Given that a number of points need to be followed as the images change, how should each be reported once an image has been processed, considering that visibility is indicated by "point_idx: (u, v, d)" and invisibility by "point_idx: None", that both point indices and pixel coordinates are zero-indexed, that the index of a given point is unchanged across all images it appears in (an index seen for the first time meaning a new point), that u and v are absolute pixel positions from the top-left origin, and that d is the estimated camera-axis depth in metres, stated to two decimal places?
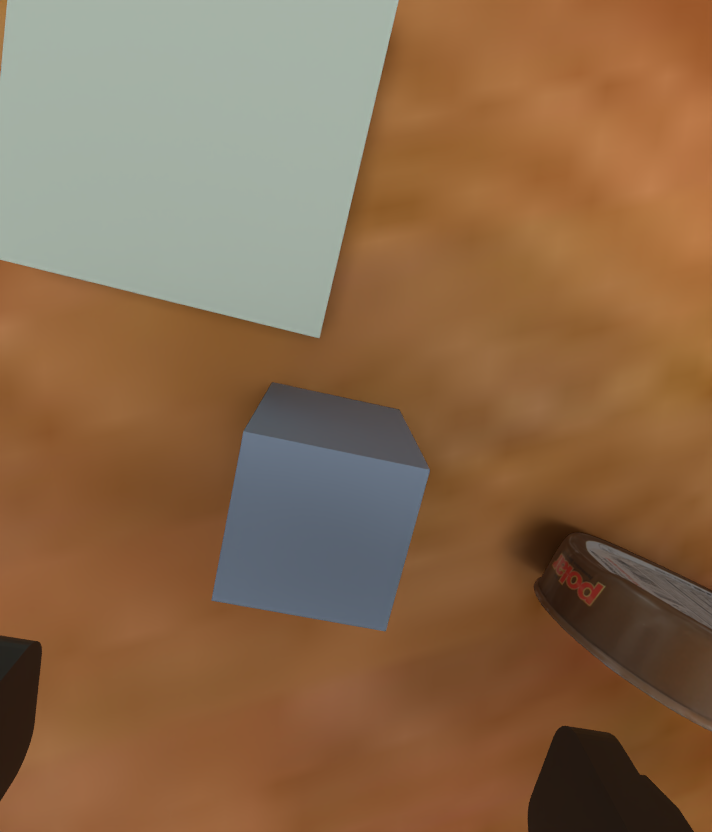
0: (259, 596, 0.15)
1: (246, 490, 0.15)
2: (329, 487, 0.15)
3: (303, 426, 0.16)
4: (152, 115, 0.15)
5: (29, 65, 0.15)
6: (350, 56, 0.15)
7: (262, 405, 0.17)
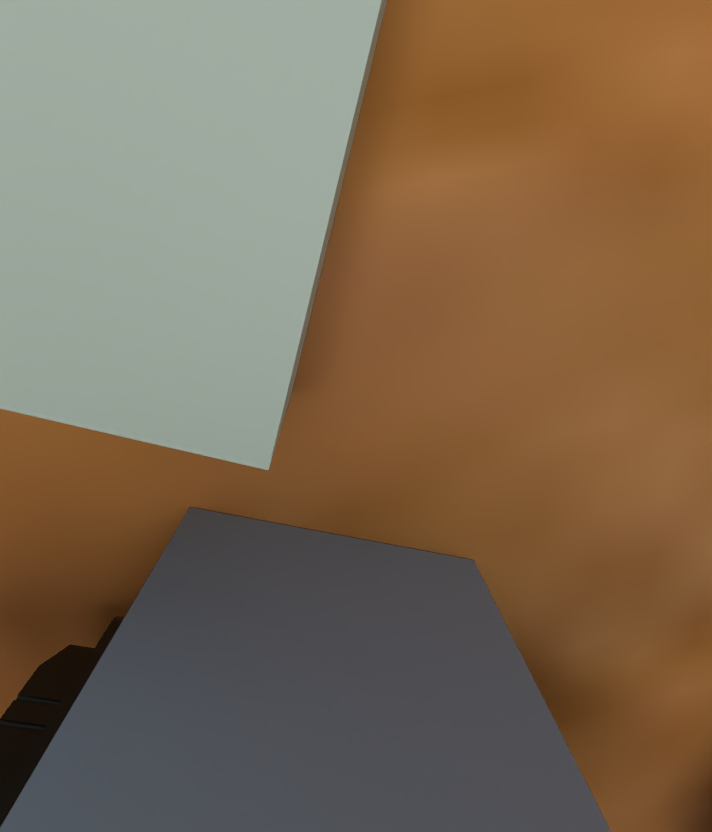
0: None
1: None
2: None
3: (215, 830, 0.04)
4: None
5: None
6: None
7: (105, 670, 0.05)
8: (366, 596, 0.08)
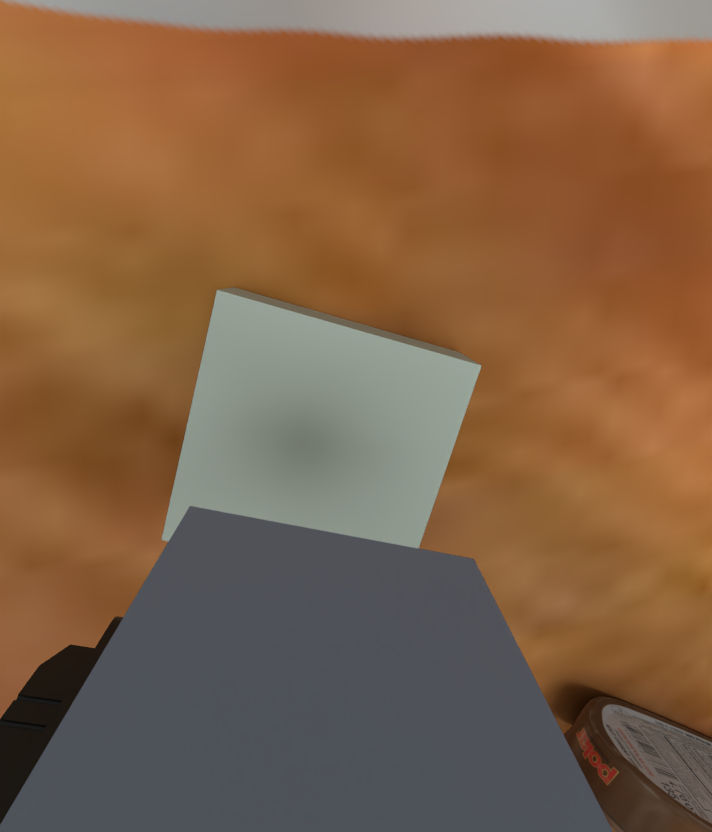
0: None
1: None
2: None
3: (216, 828, 0.04)
4: (293, 451, 0.21)
5: (208, 419, 0.21)
6: (439, 416, 0.21)
7: (105, 668, 0.05)
8: (366, 595, 0.08)
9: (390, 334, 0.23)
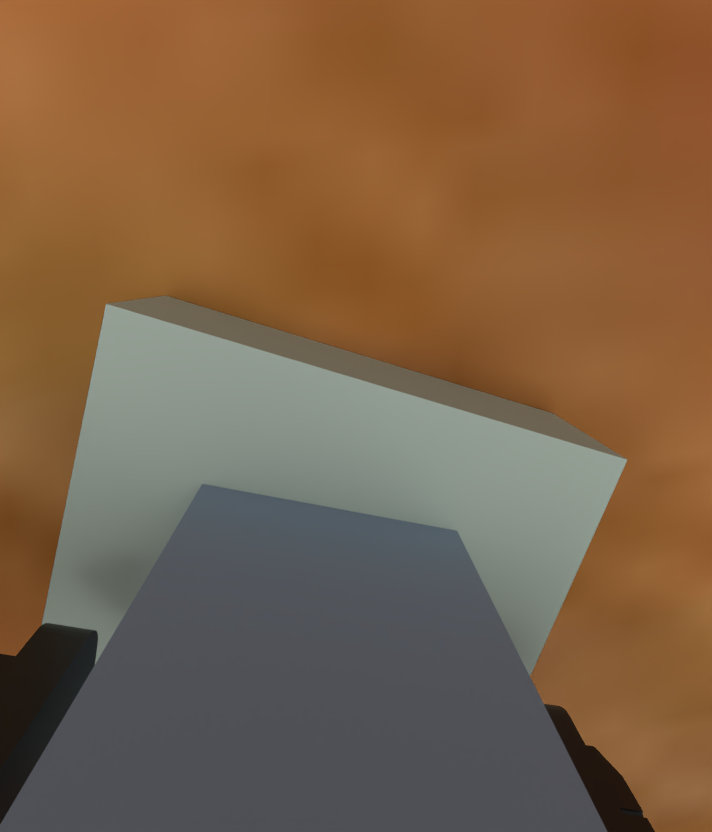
0: None
1: None
2: None
3: (234, 718, 0.05)
4: None
5: (95, 553, 0.11)
6: (539, 550, 0.11)
7: (139, 607, 0.07)
8: (359, 557, 0.09)
9: (443, 386, 0.13)
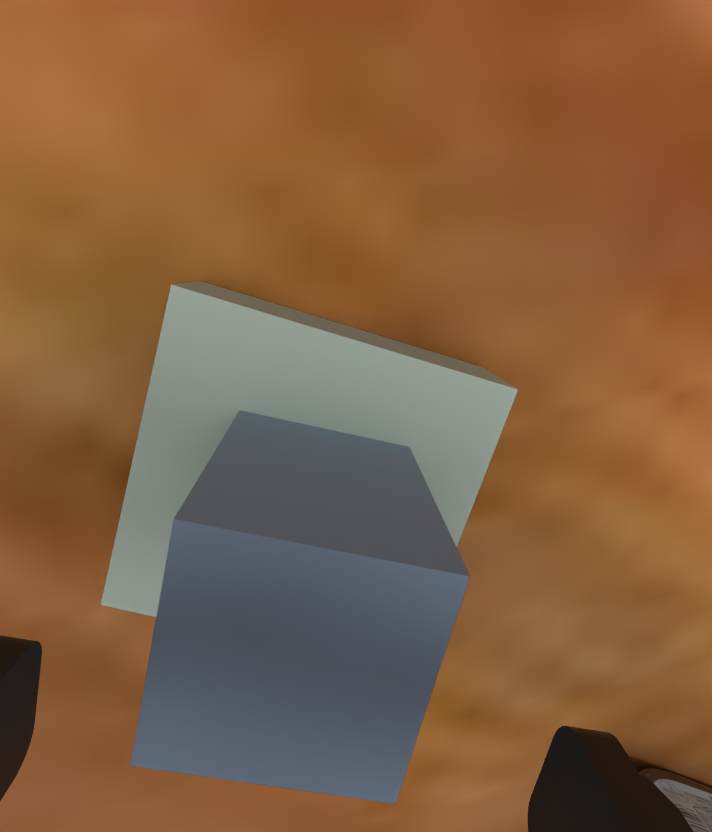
0: (204, 759, 0.10)
1: (180, 608, 0.09)
2: (312, 603, 0.09)
3: (274, 496, 0.11)
4: None
5: (160, 454, 0.16)
6: (461, 452, 0.16)
7: (217, 456, 0.12)
8: (342, 451, 0.14)
9: (398, 344, 0.18)
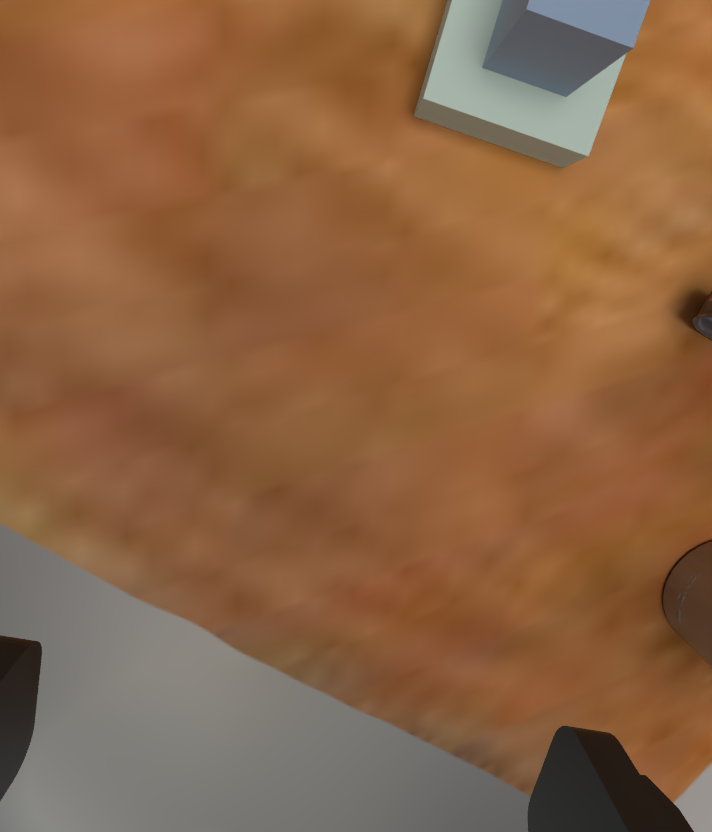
0: (557, 9, 0.23)
1: None
2: None
3: None
4: None
5: None
6: None
7: None
8: None
9: None
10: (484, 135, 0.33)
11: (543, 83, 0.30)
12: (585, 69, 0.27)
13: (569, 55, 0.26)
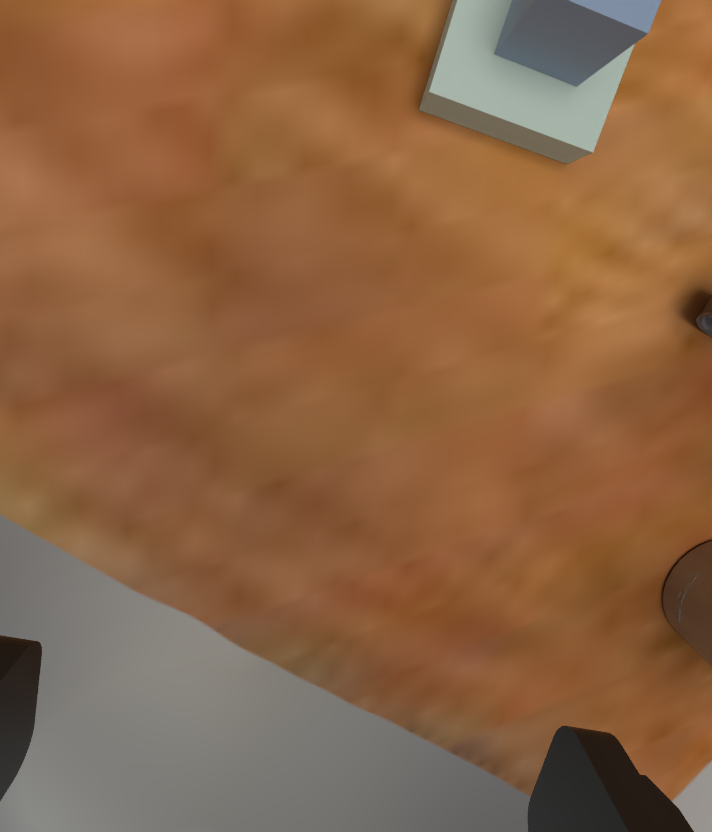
0: None
1: None
2: None
3: None
4: None
5: None
6: None
7: None
8: None
9: None
10: (489, 131, 0.33)
11: (555, 71, 0.30)
12: (598, 56, 0.27)
13: (583, 41, 0.26)
